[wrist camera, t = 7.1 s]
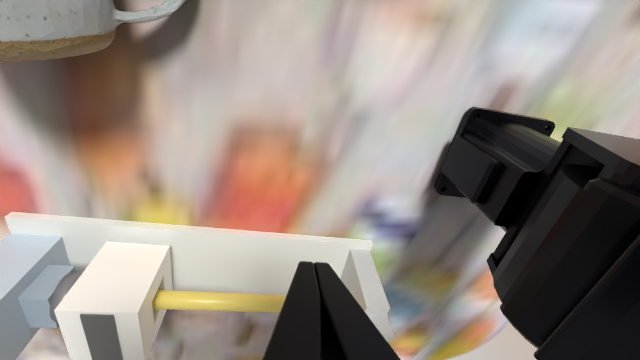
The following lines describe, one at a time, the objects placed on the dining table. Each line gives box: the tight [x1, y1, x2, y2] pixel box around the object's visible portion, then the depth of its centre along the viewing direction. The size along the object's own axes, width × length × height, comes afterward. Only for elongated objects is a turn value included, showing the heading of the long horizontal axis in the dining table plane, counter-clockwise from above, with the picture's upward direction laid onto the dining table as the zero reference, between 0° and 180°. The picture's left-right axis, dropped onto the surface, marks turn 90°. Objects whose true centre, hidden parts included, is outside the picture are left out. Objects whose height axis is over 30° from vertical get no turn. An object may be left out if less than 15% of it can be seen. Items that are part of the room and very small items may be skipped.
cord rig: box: [0, 212, 394, 360], centre depth 20 cm, size 25×7×7 cm, turn 79°
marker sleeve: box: [54, 241, 172, 360], centre depth 19 cm, size 4×5×6 cm
